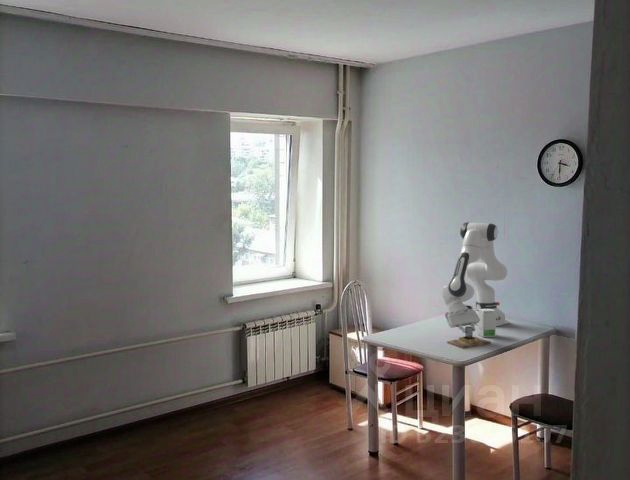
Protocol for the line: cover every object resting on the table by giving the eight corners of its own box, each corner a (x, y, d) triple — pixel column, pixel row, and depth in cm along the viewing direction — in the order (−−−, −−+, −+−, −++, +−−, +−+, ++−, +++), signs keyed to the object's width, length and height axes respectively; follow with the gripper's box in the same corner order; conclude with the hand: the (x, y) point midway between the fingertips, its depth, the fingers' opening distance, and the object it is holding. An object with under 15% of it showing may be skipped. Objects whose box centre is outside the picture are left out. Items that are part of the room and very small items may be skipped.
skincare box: (482, 337, 344) (483, 311, 342) (477, 334, 350) (477, 308, 349) (496, 336, 345) (496, 310, 344) (490, 333, 352) (490, 308, 350)
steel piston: (469, 340, 335) (469, 326, 334) (474, 341, 331) (474, 327, 331) (463, 340, 333) (463, 327, 332) (468, 342, 330) (468, 328, 329)
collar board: (474, 338, 342) (474, 333, 342) (490, 343, 331) (490, 338, 331) (447, 342, 334) (447, 337, 333) (462, 348, 322) (462, 343, 322)
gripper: (446, 309, 332) (457, 330, 324) (474, 305, 341) (486, 326, 333) (441, 316, 337) (452, 336, 329) (469, 312, 346) (480, 332, 338)
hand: (469, 331), depth 331 cm, fingers open, 5 cm apart
